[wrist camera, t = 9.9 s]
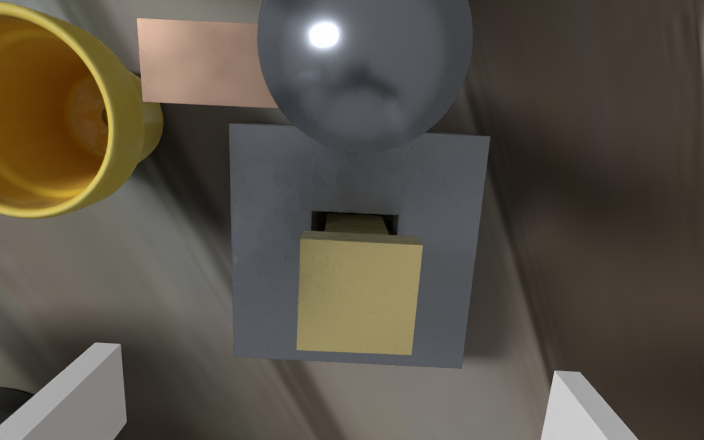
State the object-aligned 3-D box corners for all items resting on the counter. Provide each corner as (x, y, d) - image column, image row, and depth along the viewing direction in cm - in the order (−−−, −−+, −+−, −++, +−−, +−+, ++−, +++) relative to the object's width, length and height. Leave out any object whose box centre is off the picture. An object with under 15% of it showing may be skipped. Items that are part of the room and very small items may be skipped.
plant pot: (175, 29, 29) (84, -14, 19) (204, 181, 31) (135, 210, 22) (27, 46, 29) (-135, 13, 19) (66, 195, 31) (-60, 229, 22)
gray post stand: (242, 328, 34) (83, 617, 14) (237, 46, 29) (-18, -98, 9) (449, 339, 34) (572, 644, 14) (482, 57, 29) (739, -62, 9)
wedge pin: (311, 276, 32) (296, 350, 22) (314, 198, 31) (300, 238, 21) (389, 280, 33) (411, 355, 22) (396, 203, 31) (422, 245, 21)
